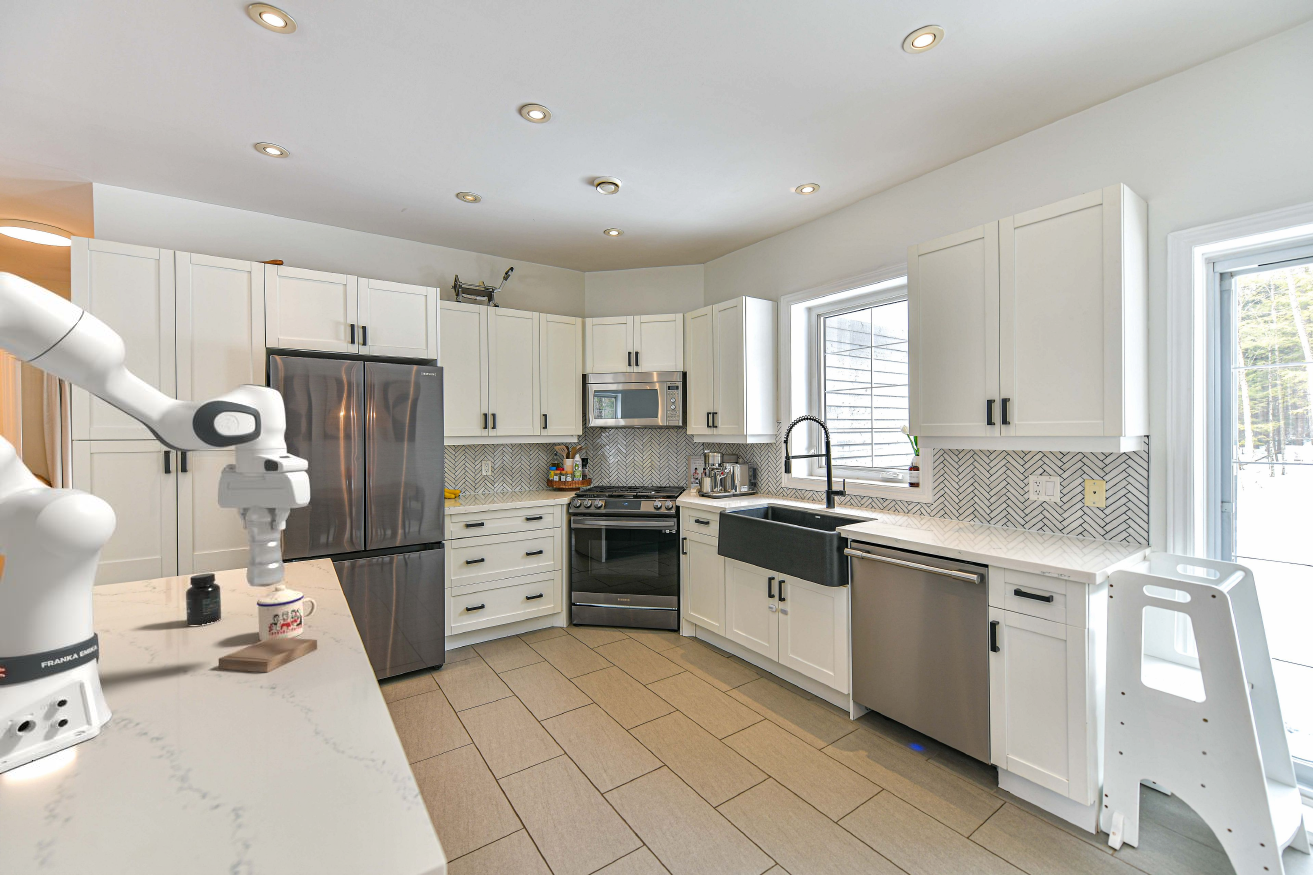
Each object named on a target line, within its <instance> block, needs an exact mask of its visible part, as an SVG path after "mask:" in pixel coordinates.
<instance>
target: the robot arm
mask: <svg viewBox="0 0 1313 875" xmlns="http://www.w3.org/2000/svg"><path fill="white" fill-rule="evenodd" d="M125 347H126V346H125V343H124V340H123V338H122V337H121V336H120V335H119V334H118V333H117V332H115V331H114V329H112V328H110V326H108V325H107V324H106V323H104V322H103V321H102V320H100V319H99V318H97V317H96V316H94V315H92V314H91V313H89V312H88V311H86V310H84V309H83V308H81V307H79V306H78V305H76V304H75V303H72V302H71V301H70V300H68V299H66V298H65V297H62V296H60V295H58V294H57V293H55V292H52V291H51V290H49V289H47V288H45V287H43V286H41V285H39V284H36V283H34V282H32V281H30V280H28V279H25V278H23V277H22V276H21V277H20V276H18V275H16V274H12V273H11V272H7V271H0V349H2V350H3V351H5V352H7V353H8V354H10V355H12V356H14V357H16V358H17V359H19V360H21V361H24V362H25V363H27V364H28V365H31V366H32V367H35V368H36V369H39V370H41V371H42V372H46V373H48V374H49V375H51V376H54V377H56V378H58V379H60V380H62V381H65V382H68V383H70V384H71V385H74V386H76V387H78V388H80V389H82V390H84V391H87V392H89V393H90V394H91V395H93V396H95V397H96V398H99V399H100V400H102V401H104V402H106V403H107V404H109V405H111V406H112V407H114V408H115V409H118V410H119V411H120V412H123V413H124V414H126V415H128V416H129V417H131V418H133V419H135V420H137V422H139V423H141V424H142V425H144V426H145V427H146V428H147V430H149V432H150V433H151V434H152V435H153V437H154V438H156V440H157V441H158V442H159V443H160V444H162V445H163V446H164V447H165V448H167V449H170V450H173V451H176V452H182V453H184V452H185V453H186V452H193V451H194V452H195V451H200V450H202V451H203V450H218V449H219V450H220V449H221V450H222V449H226V448H230V447H232V446H234V454H235V455H234V456H235V457H234V458H235V463H228V464H226V466H225V467H223V468H222V470H221V472H220V474H221V476H220V477H219V480H218V481H219V482H218V488H217V503H218V505H219V507H220V508H221V509H237V514H238V516H239V518H240V520H241V521H242V529H243V530H246V531H248V530H247V525H246V518H245V517H246V514H247V512H248V510H249V509H250V507H252V506H253V505H258V506H260V507H262V508H276V513H278V516H277V518H276V521H273V522H272V525H273V527H272V528H273V530H281V531H282V530H285V529H286V524H287V523H286V520H287V519H288V516H290V513H291V509H297V508H302V507H307V506H308V504H309V503H310V500H311V488H310V487H311V486H310V478H309V474H308V473H307V472H306V470H308V467H309V462H308V460H307V459H305V458H301V457H298V456H295V455H293V454H290V453H288V449H287V448H288V447H287V444H286V441H285V433H286V429H287V424H286V422H287V421H286V409H285V404H284V403H285V402H284V399H283V397H282V395H281V393H280V392H279V391H278V390H276V389H275V388H273V387H270V386H266V385H261V384H252V383H250V384H249V383H246V384H245V383H244V384H238V385H237V387H236V388H234V389H232V390H230V391H229V392H226V393H224V394H220V395H218V396H215V397H212V398H209V399H205V400H204V399H201V400H197V401H196V400H195V401H189V400H188V401H187V400H180V399H175V398H172V397H169V396H167V395H165V394H164V393H163V392H161V391H159V390H158V389H156V388H155V387H153V386H152V385H150V384H148V383H147V382H145V381H143V380H142V379H140V378H138V376H135V375H134V374H133V373H131V371H129V370H128V369H127V367H126V366H125V363H124V362H125V358H126V348H125ZM116 525H117V517H116V514H115V512H114V509H113V508H112V507H111V505H110V504H109V503H108V502H106V500H104V499H102V498H100V497H98V496H96V495H95V494H92V493H89V492H86V491H83V490H82V489H76V488H63V487H62V488H59V487H51V486H48V484H47V485H46V484H45V483H43V482H42V481H41V480H39V479H38V478H37V477H36V476H35V475H34V473H32V472H31V470H30V469H29V468H28V467H27V465H25V463H24V462H23V460H21V458H20V456H18V454H17V450H16V447H15V446H14V444H12V443H11V442H10V441H8V440H7V439H6V438H5V437H4V436H3V435H1V434H0V556H4V564H3V569H2V574H1V578H0V774H2V773H4V772H6V771H9V770H12V769H14V768H16V767H19V766H23V765H24V764H27V763H29V762H33V761H34V760H35V761H36V760H38V759H40V758H43V757H45V756H48V755H52V754H53V753H56V752H58V751H61V750H63V749H66V748H69V747H72V746H73V745H76V744H79V743H81V742H85V741H87V740H90V739H93V738H95V737H96V736H98V735H99V734H100V732H101V728H102V726H104V725H105V724H106V723H107V722H108V721H109V720H110V719H111V718H112V715H113V713H112V711H111V709H110V708H109V706H108V704H107V701H106V698H105V696H104V692H103V690H102V685H101V682H100V676H99V675H100V674H99V669H98V664H99V660H100V646H99V645H100V644H99V643H100V642H99V635H98V633H96V632H95V617H94V616H95V615H94V614H95V613H94V612H95V611H94V585H95V579H96V575H97V571H98V568H99V567H98V566H99V562H100V559H101V555H102V551H103V548H104V545H105V544H106V543H107V542H108V541H109V539H110V538H111V537H112V535H113V534H114V533H115V532H114V531H115V529H116ZM32 760H33V761H32Z"/></svg>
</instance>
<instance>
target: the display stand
mask: <svg viewBox="0 0 1313 875" xmlns="http://www.w3.org/2000/svg"><path fill="white" fill-rule="evenodd" d="M316 650H318V639H312V638H311V639H310V638H296V637H293V638H281V637H270V638H268V639H265V640H263V641H261V640H260V641H258V642H257V643H254V644H253V643H252V644H251V645H249V646H246V647H244V648H240V649H239V650H236V651H234V652H231V653H229V654H225V655H223V656H222V657H219V658H218V669H221V670H222V669H223V670H232V671H245V670H246V671H247V670H248V672H257V671H260V672H259V673H269V672H271V670H272V671H274V670H276V669H278V668H279V667H283V666H284V665H287V664H288V663H290V662H293V661H294V660H297V659H299V658H301V657H303V656H305V655H308V654H309V653H311V652H315V651H316Z"/></svg>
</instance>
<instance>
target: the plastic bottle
mask: <svg viewBox="0 0 1313 875" xmlns="http://www.w3.org/2000/svg"><path fill="white" fill-rule="evenodd" d="M277 516H278V513H276V508H262V507H260V506H258V505H253V506H252V507H250V509H249V510H248V512H247V514H246V517H245V518H246V525H247V530H246V531H247V534H248V543H249V544H248V545H249V553H248V554H249V555H248V565H247V569H246V581H247V583H248V584H249V586H250V587H257V588H258V587H260V588H263V587H264V588H267V587H270V586H273V585H277V584H280V583H281V582H282V581H283V579H284V577H285V565H284V561H283V558H282V548H281V537H282V533H281V532H282V530H273V528H272V527H273V525H272V522H273V521H276V518H277Z"/></svg>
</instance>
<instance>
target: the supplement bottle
mask: <svg viewBox="0 0 1313 875" xmlns="http://www.w3.org/2000/svg"><path fill="white" fill-rule="evenodd" d="M215 582H216V575H215V573H211V572H210V573H208V572H207V573H199V574H196V575H193V576H191V577H190V582H189V584H190V586H191V587H189V588H188V589H187V590H186V592H185V604H186V605H185V608H186V609H185V610H186V625H187V624H188V625H202V624H207V623H211V622H215V621H217V620H219V619H220V620H221V619H222V602H221V600H222V598H221V586H220V585H219V584H218V583H215ZM220 620H219V621H220ZM188 625H187V626H188Z"/></svg>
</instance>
